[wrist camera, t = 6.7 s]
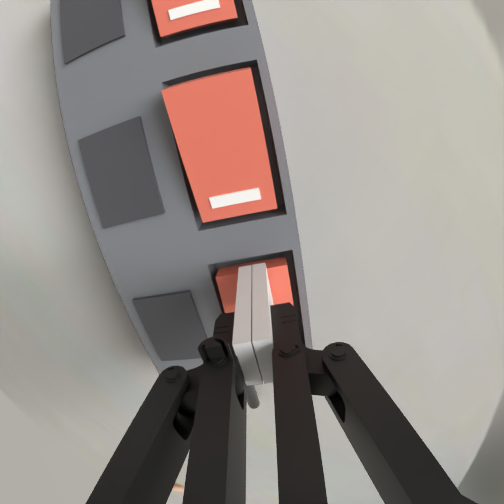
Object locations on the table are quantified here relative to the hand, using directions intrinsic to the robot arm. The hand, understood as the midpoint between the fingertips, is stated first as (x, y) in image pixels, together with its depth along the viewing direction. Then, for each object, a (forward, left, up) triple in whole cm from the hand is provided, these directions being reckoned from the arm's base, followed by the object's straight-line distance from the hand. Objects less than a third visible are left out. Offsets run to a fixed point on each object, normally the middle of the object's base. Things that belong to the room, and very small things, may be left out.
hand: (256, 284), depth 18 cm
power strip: (-4, +4, -5) cm, 7 cm away
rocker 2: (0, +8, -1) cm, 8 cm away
